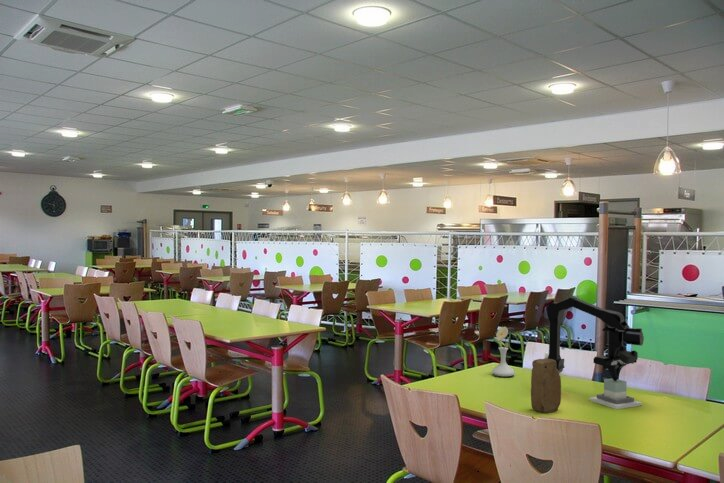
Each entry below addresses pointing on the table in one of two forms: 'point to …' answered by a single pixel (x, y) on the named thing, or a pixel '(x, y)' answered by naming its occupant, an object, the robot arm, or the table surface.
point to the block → (545, 386)
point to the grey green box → (615, 389)
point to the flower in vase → (503, 356)
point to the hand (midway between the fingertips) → (615, 380)
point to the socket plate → (615, 401)
